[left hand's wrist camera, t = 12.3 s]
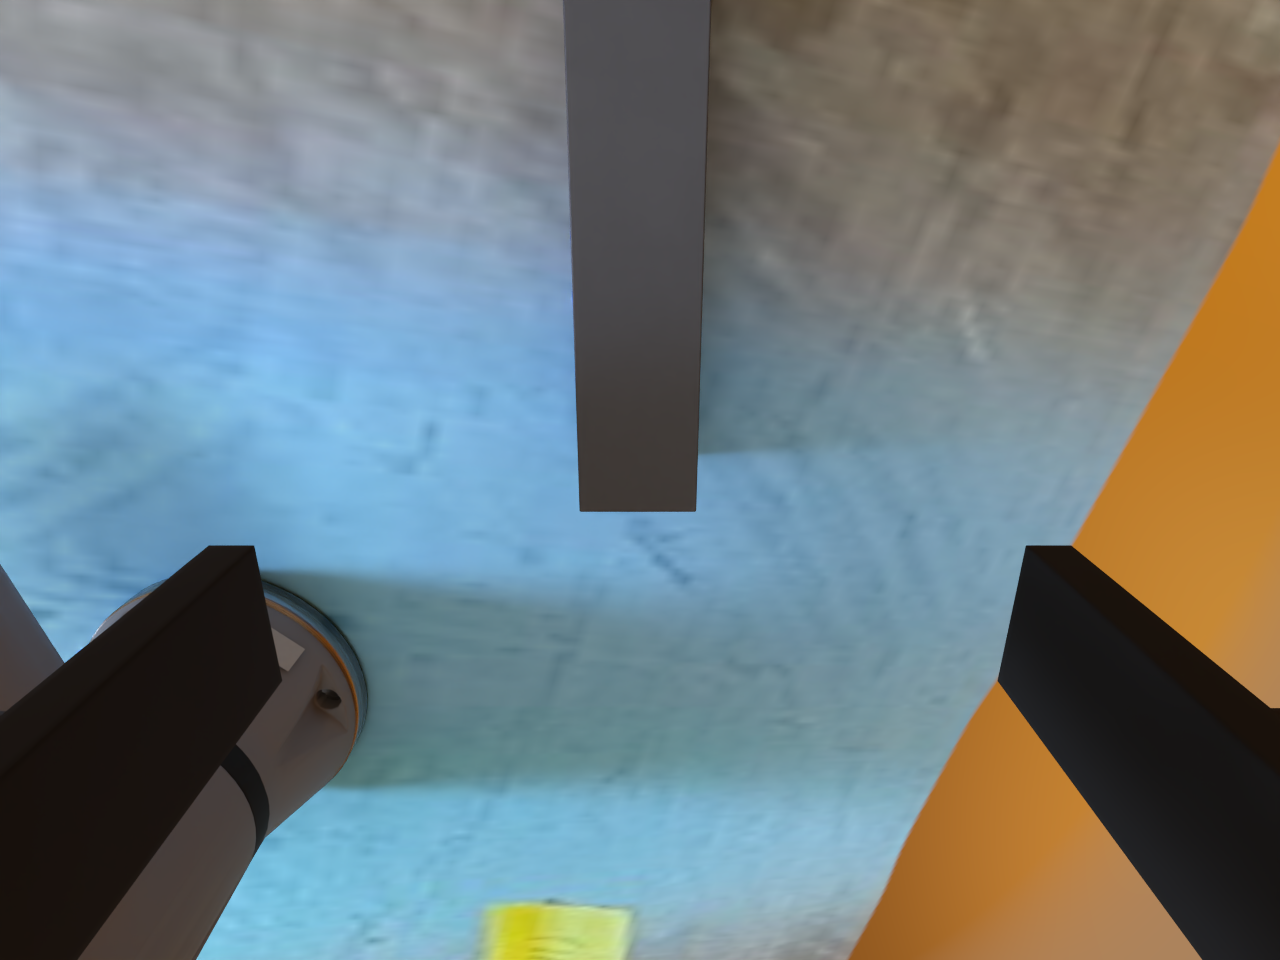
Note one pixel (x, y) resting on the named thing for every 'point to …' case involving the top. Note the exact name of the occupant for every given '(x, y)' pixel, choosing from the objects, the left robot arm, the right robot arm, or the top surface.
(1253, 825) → the left robot arm
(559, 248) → the top surface
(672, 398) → the post
